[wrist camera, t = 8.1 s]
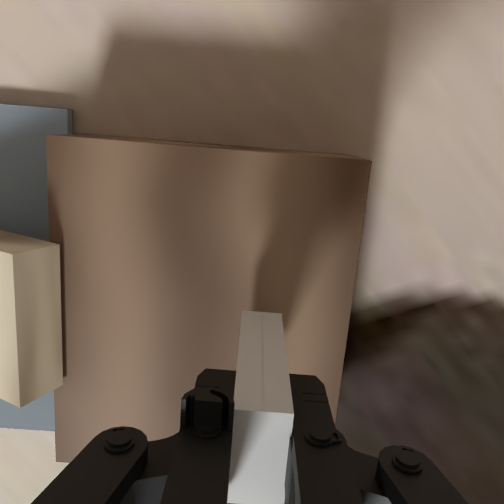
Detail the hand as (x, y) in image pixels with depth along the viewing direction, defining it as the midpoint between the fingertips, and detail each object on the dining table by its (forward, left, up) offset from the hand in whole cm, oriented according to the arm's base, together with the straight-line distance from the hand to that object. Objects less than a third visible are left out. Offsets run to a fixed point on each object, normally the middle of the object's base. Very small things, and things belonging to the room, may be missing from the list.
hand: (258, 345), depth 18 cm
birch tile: (+11, 0, -3) cm, 12 cm away
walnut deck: (+2, 0, -5) cm, 6 cm away
